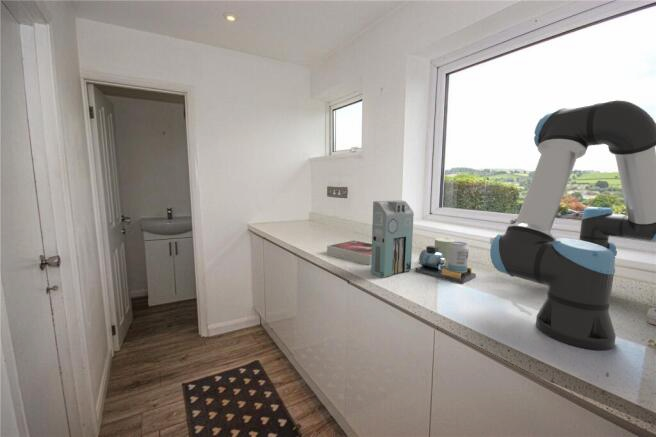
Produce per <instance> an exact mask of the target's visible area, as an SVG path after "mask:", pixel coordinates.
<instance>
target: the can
mask: <svg viewBox="0 0 656 437" xmlns="http://www.w3.org/2000/svg"><path fill="white" fill-rule="evenodd" d="M452 242H457V241H456V239H453V238H448V237H436V238H434V247H439V252H438V253H443V254H444V256H445V259H446V264H445V265H444V266H445V267H448V262H449V247H450V245H451V244H452Z"/></svg>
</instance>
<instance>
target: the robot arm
mask: <svg viewBox="0 0 656 437" xmlns="http://www.w3.org/2000/svg"><path fill="white" fill-rule="evenodd" d="M533 133H534V136H533V139H534V144H535V147H536V148H537V151H538V152H539V153H540V157H539V159H538V162H537V164H536V167H535V171H534V172H533V175H532V178H531V181H530V184H529V185H528V189H527V191H526V194H525V197H524V199H523V202H522V204H521V207H520V210H519V213H518V216H517V218H516V220H515V223H513V224H510V225H508V226H507V227H506V231H505V232H504V233H499V234H497V235H496V236H495V237H490V238H489V245H490V248H489V249H490V250H489V252H490V254H489V256H490V259H491V263H492V265H493V267H494V269H496V271H498V272H499V273H503V274H506V275H508V276H509V277H515V278H519V279H523V280H527V281H530V282H532V283H536V284H540V285H544V286H547V295H546V299H545V301H544V303H543V304H542V306H541V308H540V309H539V311H538V312H537V314H536V319H535V326H536V328H537V329H538V330H539V331H541V332H542V333H543V334H545V335H546V336H548V337H550V338H552V339H554V340H557V341H559V342H562V343H565V344H568V345H571V346H575V347H579V348H584V349H589V350H595V351H597V350H599V351H604V350H611V349H613V348H614V347H615V345H616V338H617V337H616V331H615V329H614V325H613V322H612V318H611V316H610V313H609V312H610V310H609V308H610V303H611V296H612V291H613V290H612V289H613V281H614V276H615V275H614V274H615V273H616V268H615V266H616V265H615V263H616V257H617V255H618V251H617V247H616V245H615V243H614V242H611V241H609V240H610V238H609V237H617V238H623V239H632V240H633V239H634V240H639V241H647V242H654V243H656V121H655V120H654V118H653V117H652V116H651V115H650V114H649V113H648V112H647V111H646V110H645V109H643V108H642V107H640V106H638V105H636V104H634V103H632V102H629V101H627V100H621V99H607V100H603V101H599V102H593V103H588V104H587V103H586V104H582V105H577V106H573V107H572V106H571V107H562V108H559V109H556V110H553V111H549V112H547V113H545V114H544V115H543V116H542V117H540V119H539V120H538V122H537V124H536V125H535V129H534V132H533ZM598 145H606V146H607V147H608V151H609V153H610V154H612V155H614V156H615V160H616V166H617V171H618V176H619V180H620V185H621V190H622V196H623V200H624V206H625V209H626V214H620V213H614V212H613V209H612V208H610V207H600V206H595V207H594V206H587V207H585V208H584V209H583V210H582V211H583V213H582V217H581V219H580V220H581V222H580V233H579V237H578V238H579V239H575V238H568V237H554V236H553V234H552V233H551V230H552V227H553V226H554V225H553V224H554V222H555V220H556V216H557V214H558V211H559V207H560V205H561V202H562V199H563V196H564V194H565V191H566V189H567V186H568V183H569V180H570V177H571V175H572V172H573V170H574V167H575V163H576V161H577V159H579V158H582V157H584V156H585V155H586V152H587V151H588V150H587V149H588V147H589V146H591V147H592V146H598ZM615 256H616V257H615Z"/></svg>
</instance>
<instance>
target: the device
mask: <svg viewBox="0 0 656 437" xmlns="http://www.w3.org/2000/svg"><path fill="white" fill-rule="evenodd" d="M414 216H415V215H414V211H413V209H412V208H411V206H410V205H409V203H408V202H407V201H406V200H400V199H399V200H377V201H372V227H371V228H372V229H371V230H372V232H371V244H372V257H371V265H370V267H371V268H370V273H371V274H372V275H375V276H377V275H378V277H381V278H383V279H384V278H389V277H390V276H396V275H399V274H403V273H407V272H410V271H411V270H412V258H413V257H412V255H413V252H412V251H413V234H414V233H413V232H414Z"/></svg>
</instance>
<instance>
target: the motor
mask: <svg viewBox="0 0 656 437" xmlns="http://www.w3.org/2000/svg"><path fill="white" fill-rule="evenodd" d="M425 247H426V248H425V249H423V250H422V251H421V252H420V254H419V257H418V258H419V259H418V261H419V264H420V266H418V267H415V269H414V270H415V273H420V274H424V275H426V276H427V275H428V276H432V277H435V278H439V279H442V280H443V279H444V280H447V281H451V282H455V283H457V284H461V285H464V284H465V283H468V282H469V281H471V280H473V279H475V278H476V276H477V274H476V273H475V272H472V271H473V267H468V266H467V272H465V273H464V274H461V273H458V272H454V271H450V270H448V266H444V265H445V264H446V259H445V256H444V254H443V253H438V252H439V247H435V245H428V246H425Z"/></svg>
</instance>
